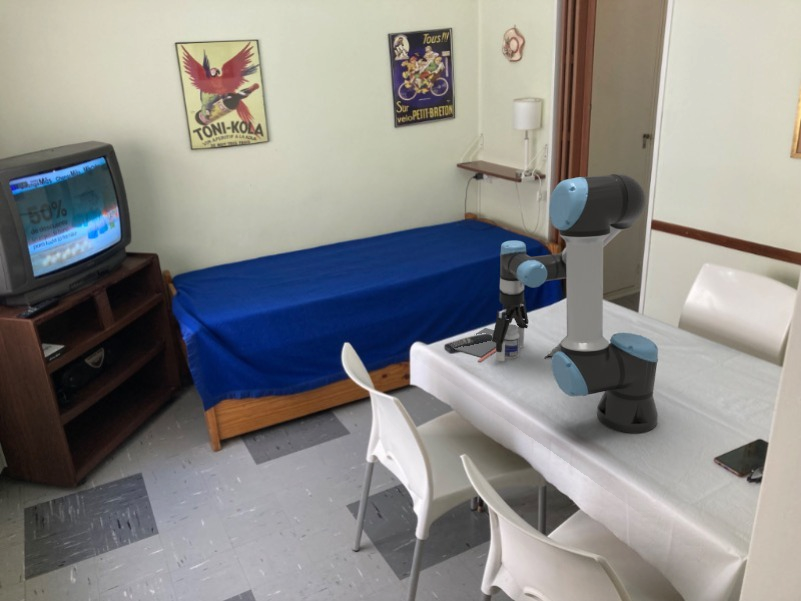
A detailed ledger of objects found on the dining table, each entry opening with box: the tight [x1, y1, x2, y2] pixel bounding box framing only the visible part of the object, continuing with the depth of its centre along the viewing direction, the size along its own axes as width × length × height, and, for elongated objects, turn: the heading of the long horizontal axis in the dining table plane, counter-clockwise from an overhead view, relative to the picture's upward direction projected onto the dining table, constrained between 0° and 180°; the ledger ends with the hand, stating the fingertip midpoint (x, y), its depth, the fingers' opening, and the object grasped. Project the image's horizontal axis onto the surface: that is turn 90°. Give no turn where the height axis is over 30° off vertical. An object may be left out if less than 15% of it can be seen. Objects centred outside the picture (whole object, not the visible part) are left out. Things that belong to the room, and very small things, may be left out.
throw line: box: [477, 348, 496, 363], centre depth 214 cm, size 26×1×1 cm, turn 141°
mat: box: [453, 327, 496, 359], centre depth 218 cm, size 20×11×1 cm, turn 141°
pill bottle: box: [503, 323, 520, 360], centre depth 207 cm, size 6×6×10 cm
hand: (510, 353), depth 209 cm, fingers open, 12 cm apart
